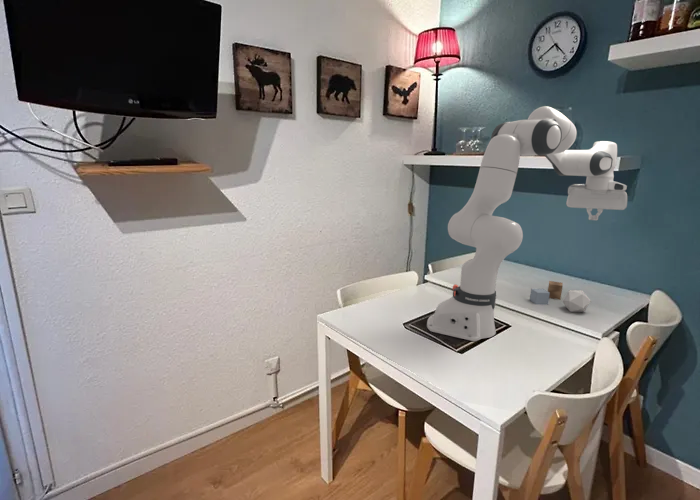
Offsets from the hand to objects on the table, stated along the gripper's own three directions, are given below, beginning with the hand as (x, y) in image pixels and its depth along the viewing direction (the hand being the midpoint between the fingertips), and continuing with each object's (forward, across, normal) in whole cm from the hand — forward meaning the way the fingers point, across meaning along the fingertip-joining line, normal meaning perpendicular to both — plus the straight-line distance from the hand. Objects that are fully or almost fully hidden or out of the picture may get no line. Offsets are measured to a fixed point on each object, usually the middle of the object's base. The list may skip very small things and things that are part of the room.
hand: (593, 219), depth 155 cm
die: (+33, -5, -15) cm, 37 cm away
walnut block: (+33, -10, -1) cm, 35 cm away
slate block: (+33, -17, -10) cm, 39 cm away
